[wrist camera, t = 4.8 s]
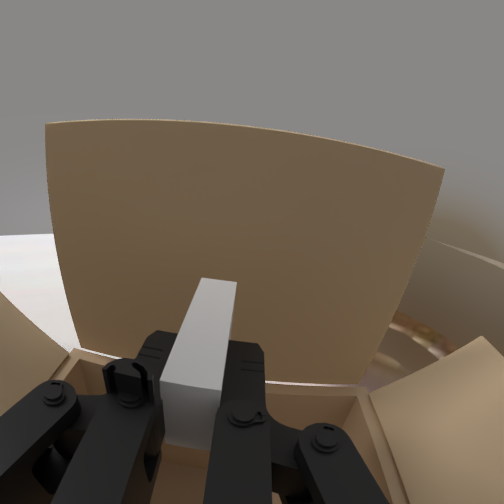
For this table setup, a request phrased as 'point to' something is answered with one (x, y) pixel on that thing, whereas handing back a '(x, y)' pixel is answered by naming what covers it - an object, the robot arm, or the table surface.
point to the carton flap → (236, 236)
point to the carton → (324, 418)
